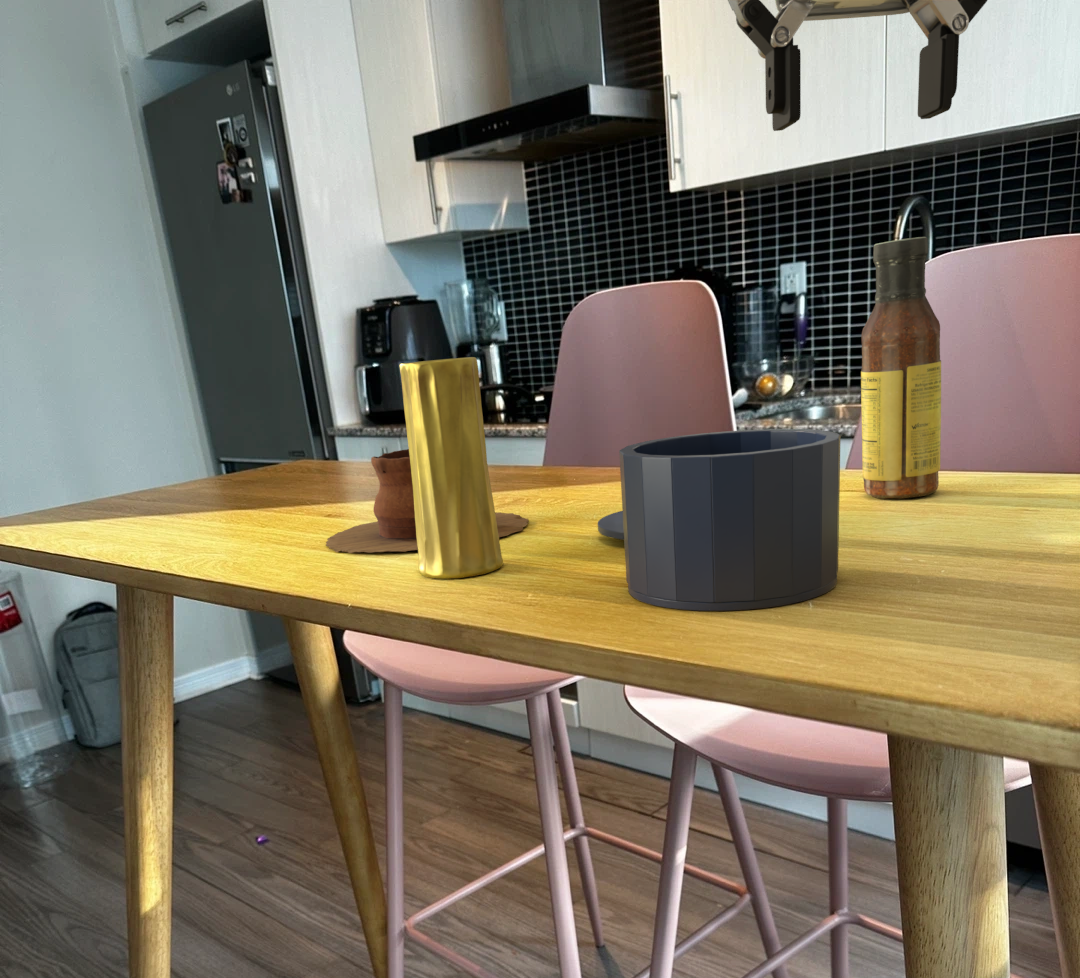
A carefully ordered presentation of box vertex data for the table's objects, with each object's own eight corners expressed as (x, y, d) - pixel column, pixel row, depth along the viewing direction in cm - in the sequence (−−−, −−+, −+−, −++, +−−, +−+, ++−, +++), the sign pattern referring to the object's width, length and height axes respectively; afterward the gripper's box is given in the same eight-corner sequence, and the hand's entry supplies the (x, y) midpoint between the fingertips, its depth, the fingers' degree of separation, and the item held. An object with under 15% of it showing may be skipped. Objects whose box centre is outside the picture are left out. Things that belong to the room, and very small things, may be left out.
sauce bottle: (936, 487, 89) (948, 236, 82) (942, 499, 84) (955, 231, 77) (857, 490, 91) (863, 245, 84) (858, 502, 86) (864, 241, 79)
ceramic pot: (505, 549, 80) (496, 456, 77) (291, 559, 83) (276, 471, 81) (545, 509, 96) (538, 431, 94) (365, 519, 100) (354, 445, 97)
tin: (759, 552, 71) (758, 425, 68) (883, 586, 60) (888, 435, 57) (594, 582, 67) (585, 448, 64) (693, 624, 56) (688, 463, 53)
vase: (484, 579, 70) (461, 359, 65) (404, 579, 72) (375, 366, 67) (515, 559, 76) (496, 354, 71) (439, 560, 78) (415, 361, 73)
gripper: (738, -250, 54) (745, 118, 60) (1048, -265, 56) (1024, 96, 62) (700, -182, 61) (709, 142, 67) (976, -196, 63) (961, 122, 69)
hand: (860, 120), depth 64 cm, fingers open, 9 cm apart
